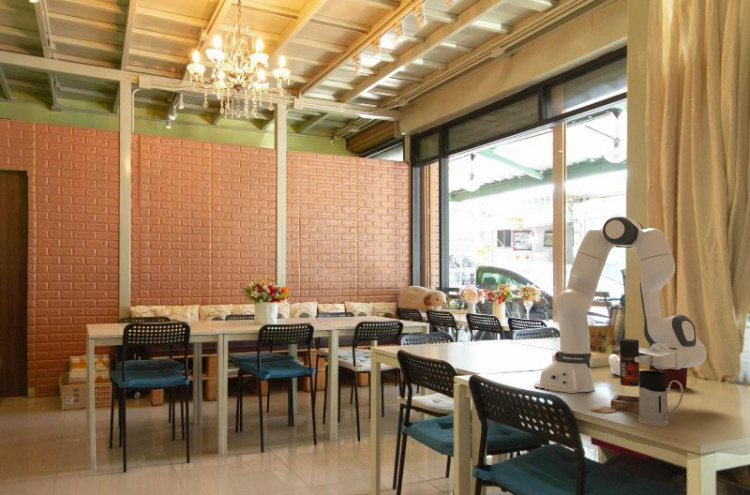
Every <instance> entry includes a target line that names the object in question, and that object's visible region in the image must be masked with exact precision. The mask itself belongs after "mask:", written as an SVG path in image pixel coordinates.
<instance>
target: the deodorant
mask: <svg viewBox="0 0 750 495" xmlns="http://www.w3.org/2000/svg"><path fill="white" fill-rule="evenodd" d="M639 341H640V340H639V339H636V338H635V339H634V338H621V339H619V353H620V376H619V377H620V379H619V380H620V385H621V386H624V387H625V386H626V387H633V388H634V387H639V371H640V362H634V361H633V357H634V356H639V348H640V342H639Z"/></svg>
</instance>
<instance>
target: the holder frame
mask: <svg viewBox="0 0 750 495" xmlns="http://www.w3.org/2000/svg"><path fill="white" fill-rule="evenodd" d="M610 407H611V408H615V411H618V412H619V411H620V412H629V413H638V414H639V395H638V396H637V395H629V394H628V395H627V394H618V393H616V394H615V395H614V396H613V397H612V398H611V400H610Z"/></svg>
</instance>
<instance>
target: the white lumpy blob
mask: <svg viewBox="0 0 750 495" xmlns="http://www.w3.org/2000/svg"><path fill="white" fill-rule="evenodd" d="M608 365H609V367H610V372H611V374H613V375H617V376H618V377H620V358H619V355H617V354H615V353H614V354H610V355H609V356H608Z"/></svg>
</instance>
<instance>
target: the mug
mask: <svg viewBox="0 0 750 495" xmlns="http://www.w3.org/2000/svg"><path fill="white" fill-rule="evenodd" d="M654 369H655V371H659V369H657V368H655V367H654ZM688 370H689V368H681V369H663V372H665V373H666V388H668V385H669V383H670V382H671V381H678V382H680V383H681V384H682V387H683V389H686V388H687V384H688V382H687V381H688ZM670 389H680V390H681V387H680V385H679V384H678V383H677V382H672V384H671V387H670Z"/></svg>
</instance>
